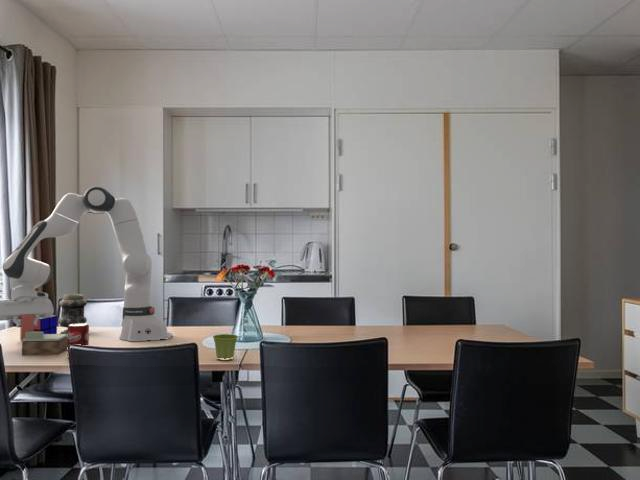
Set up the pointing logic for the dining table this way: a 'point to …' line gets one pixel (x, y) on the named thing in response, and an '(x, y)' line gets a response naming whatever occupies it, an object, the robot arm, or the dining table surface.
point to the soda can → (78, 334)
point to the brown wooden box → (44, 347)
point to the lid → (43, 336)
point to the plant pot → (225, 345)
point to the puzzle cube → (46, 325)
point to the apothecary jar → (72, 310)
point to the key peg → (26, 325)
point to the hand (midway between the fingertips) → (27, 325)
